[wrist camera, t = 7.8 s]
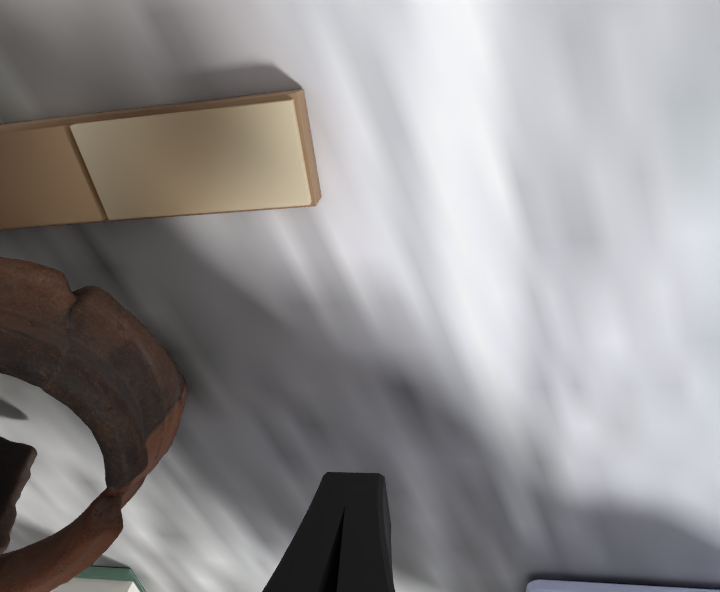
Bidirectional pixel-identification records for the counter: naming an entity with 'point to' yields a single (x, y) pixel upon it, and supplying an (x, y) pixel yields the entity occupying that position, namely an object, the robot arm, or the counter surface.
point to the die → (96, 586)
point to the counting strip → (159, 162)
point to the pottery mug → (81, 409)
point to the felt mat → (110, 575)
